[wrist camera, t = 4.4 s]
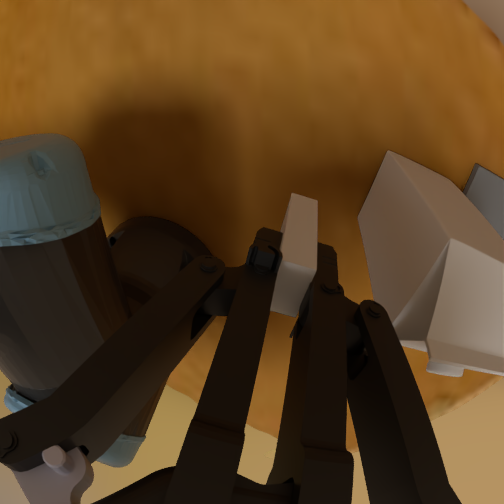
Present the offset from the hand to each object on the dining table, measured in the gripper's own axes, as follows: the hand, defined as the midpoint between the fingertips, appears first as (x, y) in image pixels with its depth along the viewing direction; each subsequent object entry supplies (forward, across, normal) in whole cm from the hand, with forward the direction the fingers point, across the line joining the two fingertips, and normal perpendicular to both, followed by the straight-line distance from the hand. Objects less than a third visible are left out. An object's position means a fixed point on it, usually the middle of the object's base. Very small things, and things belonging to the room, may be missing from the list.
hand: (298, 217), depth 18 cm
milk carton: (+11, +10, 0) cm, 15 cm away
